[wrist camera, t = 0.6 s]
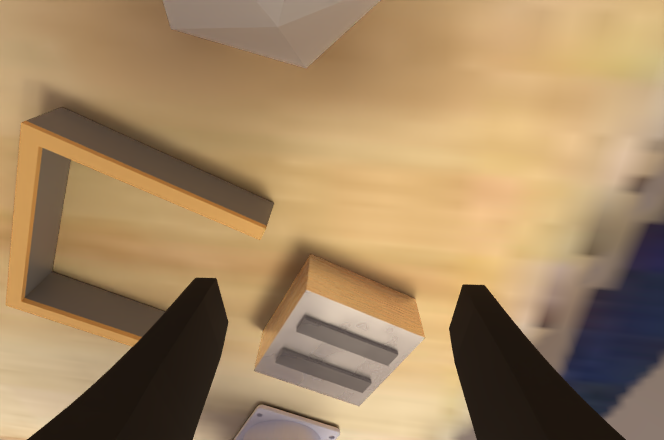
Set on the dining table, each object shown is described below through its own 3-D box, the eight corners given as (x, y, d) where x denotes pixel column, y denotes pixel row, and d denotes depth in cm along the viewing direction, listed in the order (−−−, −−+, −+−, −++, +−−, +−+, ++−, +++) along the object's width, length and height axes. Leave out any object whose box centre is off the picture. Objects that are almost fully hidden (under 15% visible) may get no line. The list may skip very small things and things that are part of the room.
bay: (207, 334, 27) (194, 366, 25) (38, 275, 25) (5, 305, 22) (274, 203, 21) (265, 228, 19) (61, 106, 19) (20, 122, 16)
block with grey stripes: (357, 361, 29) (359, 410, 26) (263, 327, 27) (252, 374, 24) (414, 295, 25) (426, 342, 22) (311, 250, 24) (306, 293, 20)
